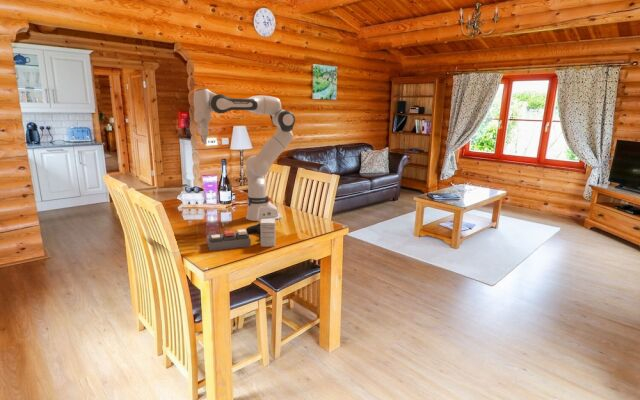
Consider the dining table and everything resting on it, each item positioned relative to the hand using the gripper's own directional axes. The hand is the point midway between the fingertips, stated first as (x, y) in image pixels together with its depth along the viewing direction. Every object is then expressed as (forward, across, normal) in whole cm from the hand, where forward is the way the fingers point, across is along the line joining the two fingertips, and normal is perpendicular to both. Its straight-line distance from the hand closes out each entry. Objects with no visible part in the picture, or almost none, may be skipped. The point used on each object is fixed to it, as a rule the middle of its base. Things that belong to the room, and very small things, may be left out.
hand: (203, 143), depth 212 cm
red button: (+42, -44, -6) cm, 61 cm away
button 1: (+43, -44, +1) cm, 62 cm away
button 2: (+42, -44, -12) cm, 62 cm away
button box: (+48, -42, -6) cm, 63 cm away
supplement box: (+48, -48, -25) cm, 72 cm away
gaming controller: (+48, -33, -24) cm, 63 cm away
